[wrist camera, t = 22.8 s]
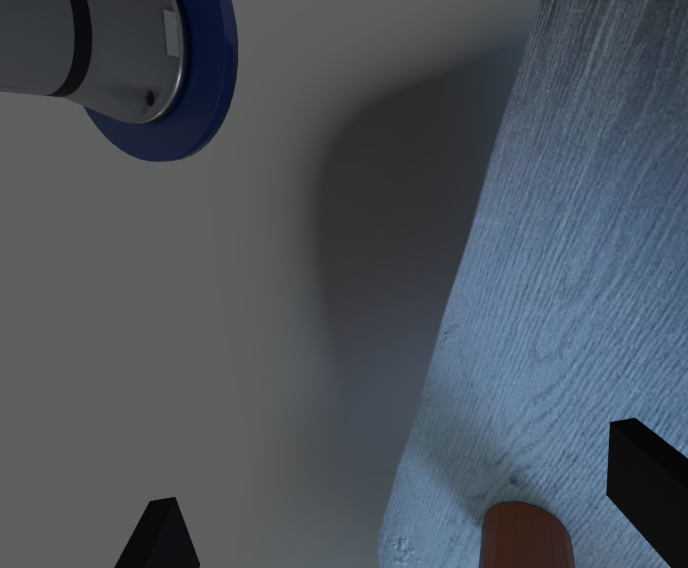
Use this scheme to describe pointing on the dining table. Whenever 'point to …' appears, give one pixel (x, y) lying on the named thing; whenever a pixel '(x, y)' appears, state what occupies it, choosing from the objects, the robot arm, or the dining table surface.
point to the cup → (524, 538)
